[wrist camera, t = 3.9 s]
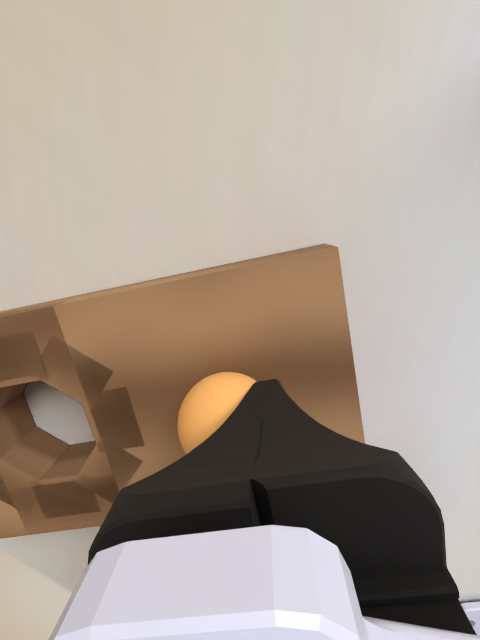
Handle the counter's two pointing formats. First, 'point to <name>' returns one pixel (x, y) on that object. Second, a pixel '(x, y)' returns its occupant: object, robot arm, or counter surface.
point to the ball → (210, 406)
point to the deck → (162, 374)
